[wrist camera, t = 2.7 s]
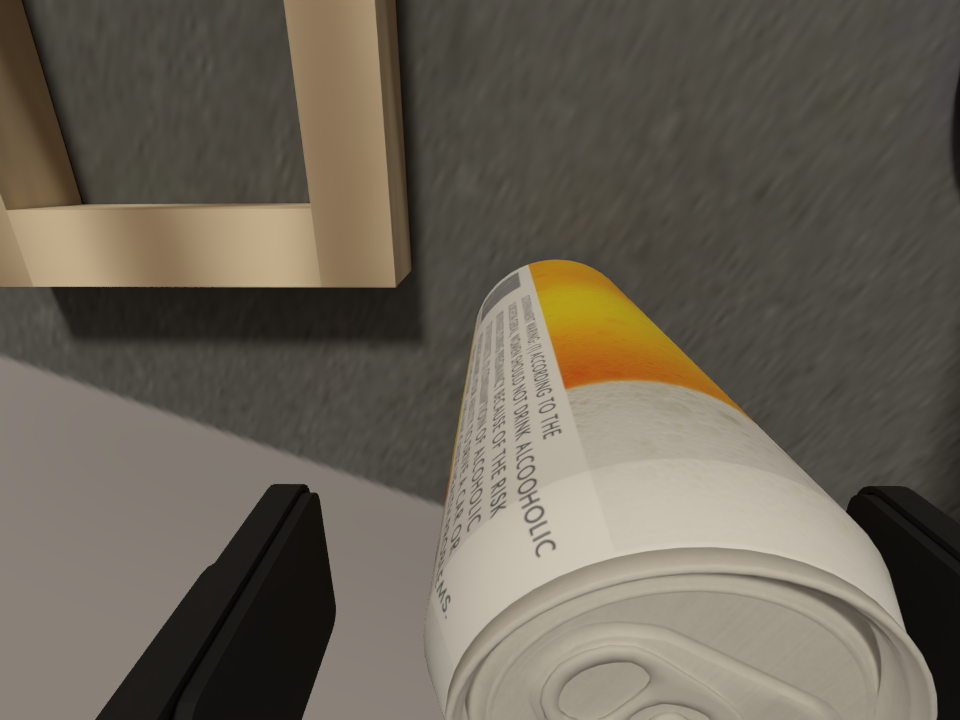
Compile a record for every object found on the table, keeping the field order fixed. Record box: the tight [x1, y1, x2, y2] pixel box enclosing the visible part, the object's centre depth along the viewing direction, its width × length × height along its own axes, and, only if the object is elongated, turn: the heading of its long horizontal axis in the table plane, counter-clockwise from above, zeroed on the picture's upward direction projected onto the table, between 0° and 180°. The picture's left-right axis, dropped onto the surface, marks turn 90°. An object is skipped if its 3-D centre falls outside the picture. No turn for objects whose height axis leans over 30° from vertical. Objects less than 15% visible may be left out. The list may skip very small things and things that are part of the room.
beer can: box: [424, 260, 937, 720], centre depth 12 cm, size 6×6×15 cm
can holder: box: [0, 0, 412, 287], centre depth 15 cm, size 15×15×3 cm
